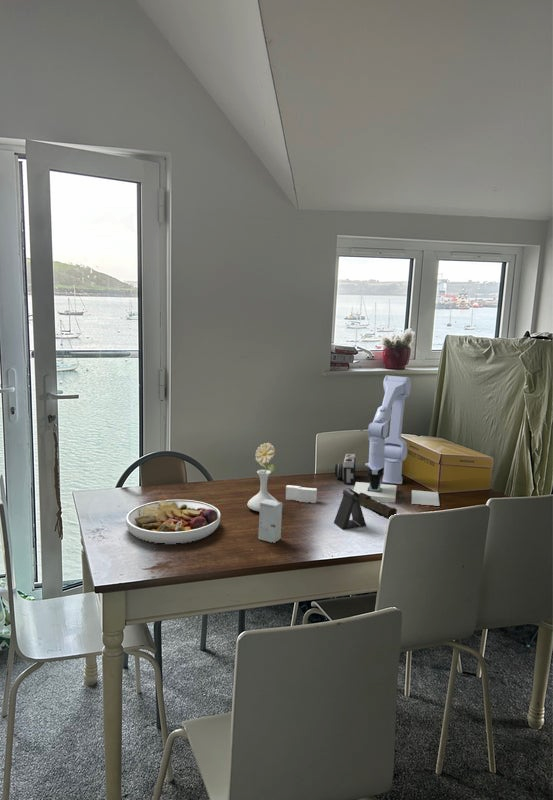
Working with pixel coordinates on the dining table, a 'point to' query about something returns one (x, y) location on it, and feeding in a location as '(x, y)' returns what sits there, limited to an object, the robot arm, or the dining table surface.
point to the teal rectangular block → (373, 489)
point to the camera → (346, 469)
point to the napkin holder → (301, 494)
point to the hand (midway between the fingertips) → (374, 487)
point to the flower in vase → (263, 475)
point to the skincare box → (270, 520)
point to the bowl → (173, 521)
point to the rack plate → (384, 495)
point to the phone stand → (350, 511)
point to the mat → (425, 498)
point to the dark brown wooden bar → (376, 505)
